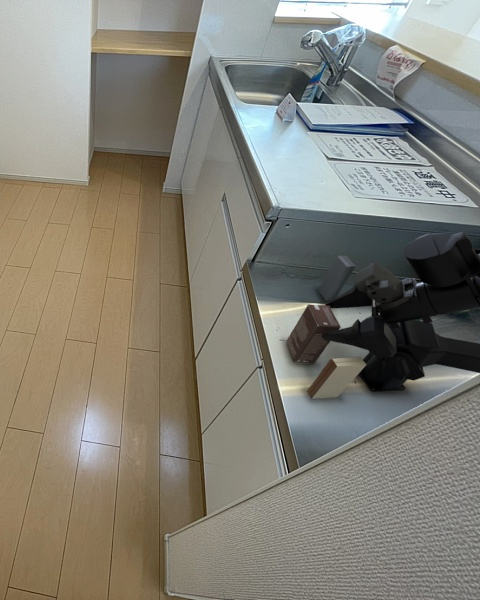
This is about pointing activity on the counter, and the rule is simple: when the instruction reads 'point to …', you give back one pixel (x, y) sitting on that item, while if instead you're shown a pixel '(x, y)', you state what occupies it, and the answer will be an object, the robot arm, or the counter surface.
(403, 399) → the counter surface
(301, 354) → the box
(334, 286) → the grey books
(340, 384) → the cream books
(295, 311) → the counter surface
